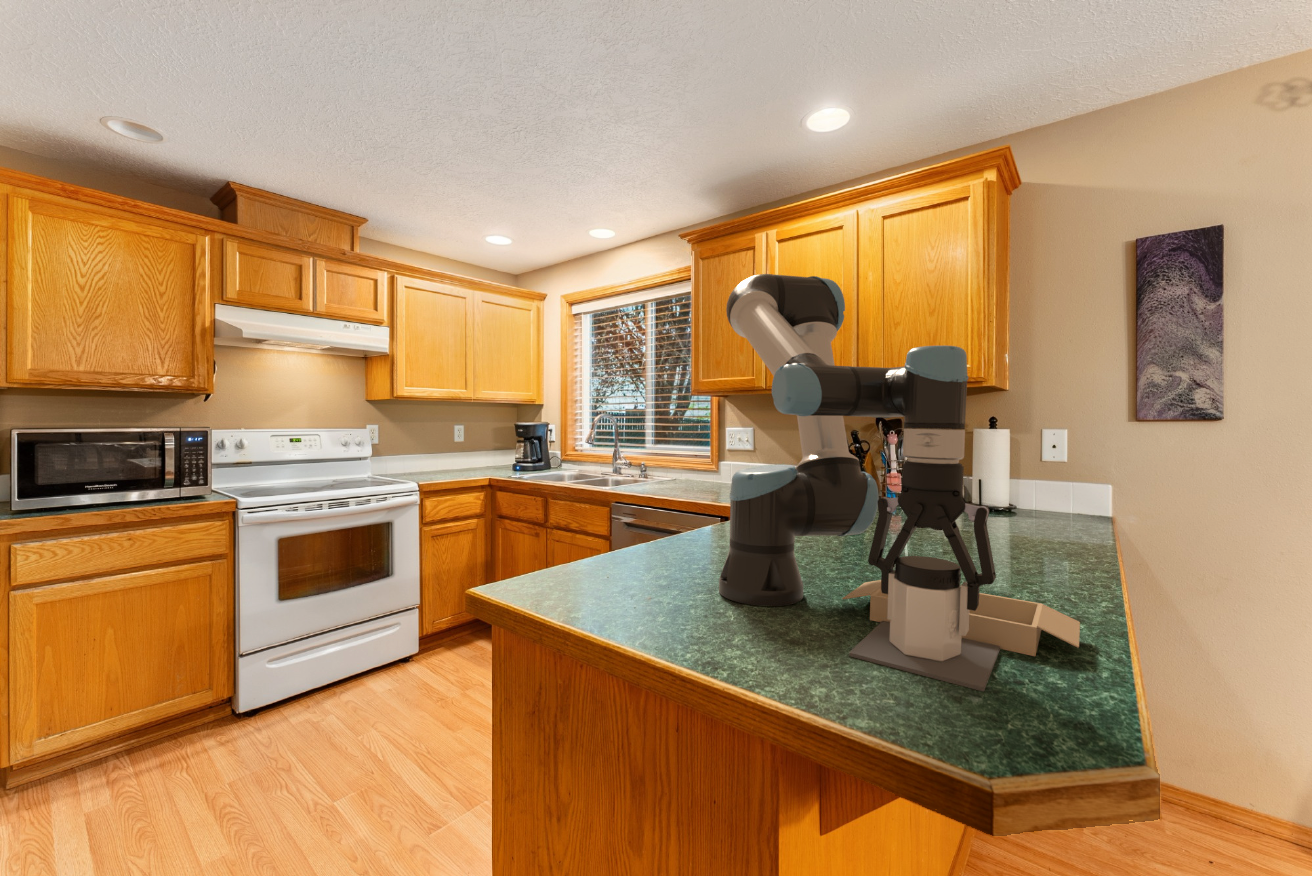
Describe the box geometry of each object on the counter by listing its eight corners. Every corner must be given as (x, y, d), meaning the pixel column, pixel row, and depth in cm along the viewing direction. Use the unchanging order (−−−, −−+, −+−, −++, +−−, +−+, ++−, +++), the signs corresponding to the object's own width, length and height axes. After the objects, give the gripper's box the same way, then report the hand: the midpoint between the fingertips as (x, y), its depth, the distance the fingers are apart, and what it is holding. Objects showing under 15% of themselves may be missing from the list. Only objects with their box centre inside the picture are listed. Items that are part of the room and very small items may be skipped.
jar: (934, 667, 73) (937, 574, 73) (878, 645, 80) (881, 560, 80) (971, 652, 78) (974, 565, 78) (915, 632, 85) (918, 552, 85)
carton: (840, 613, 95) (841, 588, 95) (865, 594, 105) (866, 572, 105) (1078, 665, 76) (1079, 635, 76) (1079, 636, 86) (1080, 609, 86)
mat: (848, 656, 78) (849, 652, 78) (882, 623, 90) (882, 620, 90) (983, 691, 68) (984, 687, 68) (1000, 649, 81) (1000, 646, 81)
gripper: (846, 457, 82) (841, 614, 82) (1021, 467, 69) (1014, 653, 70) (862, 455, 88) (858, 602, 88) (1027, 464, 75) (1020, 635, 76)
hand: (927, 624), depth 79 cm, fingers closed on jar, 8 cm apart
